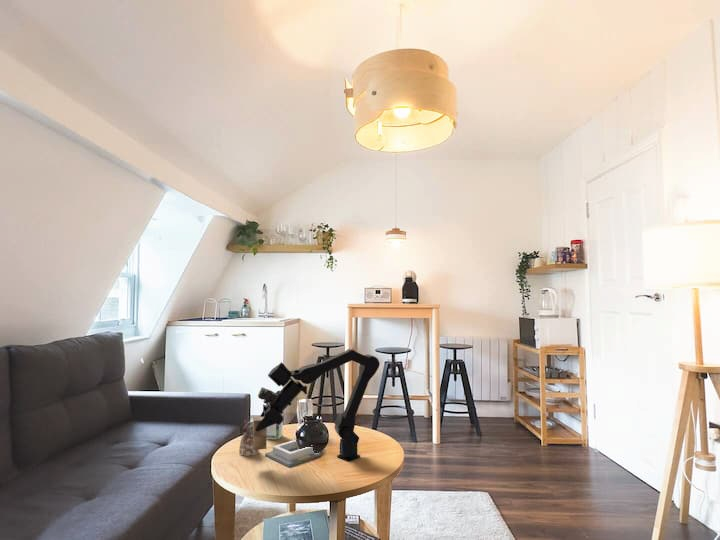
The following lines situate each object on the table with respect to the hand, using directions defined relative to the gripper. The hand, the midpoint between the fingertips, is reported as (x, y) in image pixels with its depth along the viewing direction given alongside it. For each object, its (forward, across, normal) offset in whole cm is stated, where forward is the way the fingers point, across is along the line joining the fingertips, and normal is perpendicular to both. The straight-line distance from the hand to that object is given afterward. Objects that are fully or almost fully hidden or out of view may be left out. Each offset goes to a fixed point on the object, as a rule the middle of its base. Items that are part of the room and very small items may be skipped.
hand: (255, 428), depth 144 cm
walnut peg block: (+4, 0, +6) cm, 7 cm away
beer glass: (-6, -30, +25) cm, 40 cm away
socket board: (0, -7, +20) cm, 21 cm away
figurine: (+11, -15, +8) cm, 21 cm away
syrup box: (+3, -31, +16) cm, 35 cm away
